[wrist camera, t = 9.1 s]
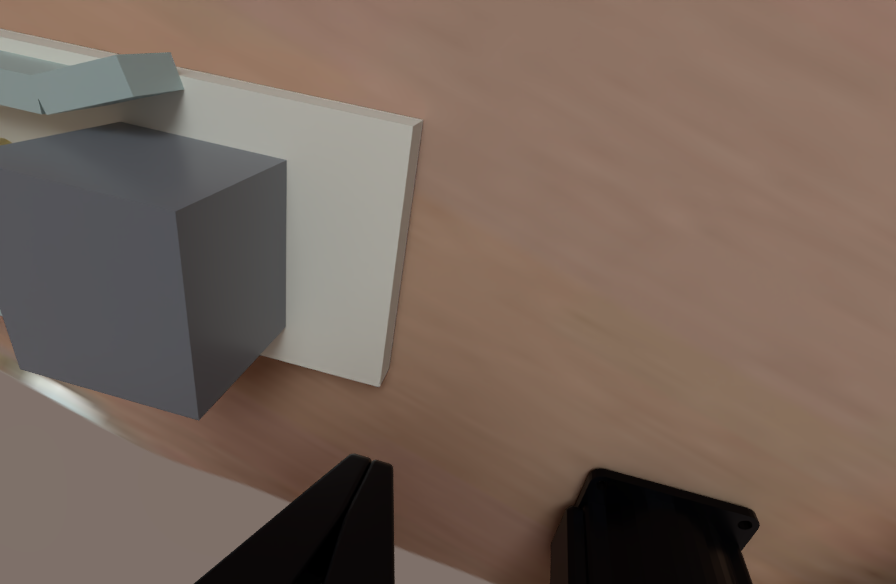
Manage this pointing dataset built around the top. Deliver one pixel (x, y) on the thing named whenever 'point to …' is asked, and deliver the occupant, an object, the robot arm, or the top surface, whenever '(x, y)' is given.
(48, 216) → the grey block
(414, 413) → the top surface
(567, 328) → the top surface
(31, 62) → the board
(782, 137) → the top surface
